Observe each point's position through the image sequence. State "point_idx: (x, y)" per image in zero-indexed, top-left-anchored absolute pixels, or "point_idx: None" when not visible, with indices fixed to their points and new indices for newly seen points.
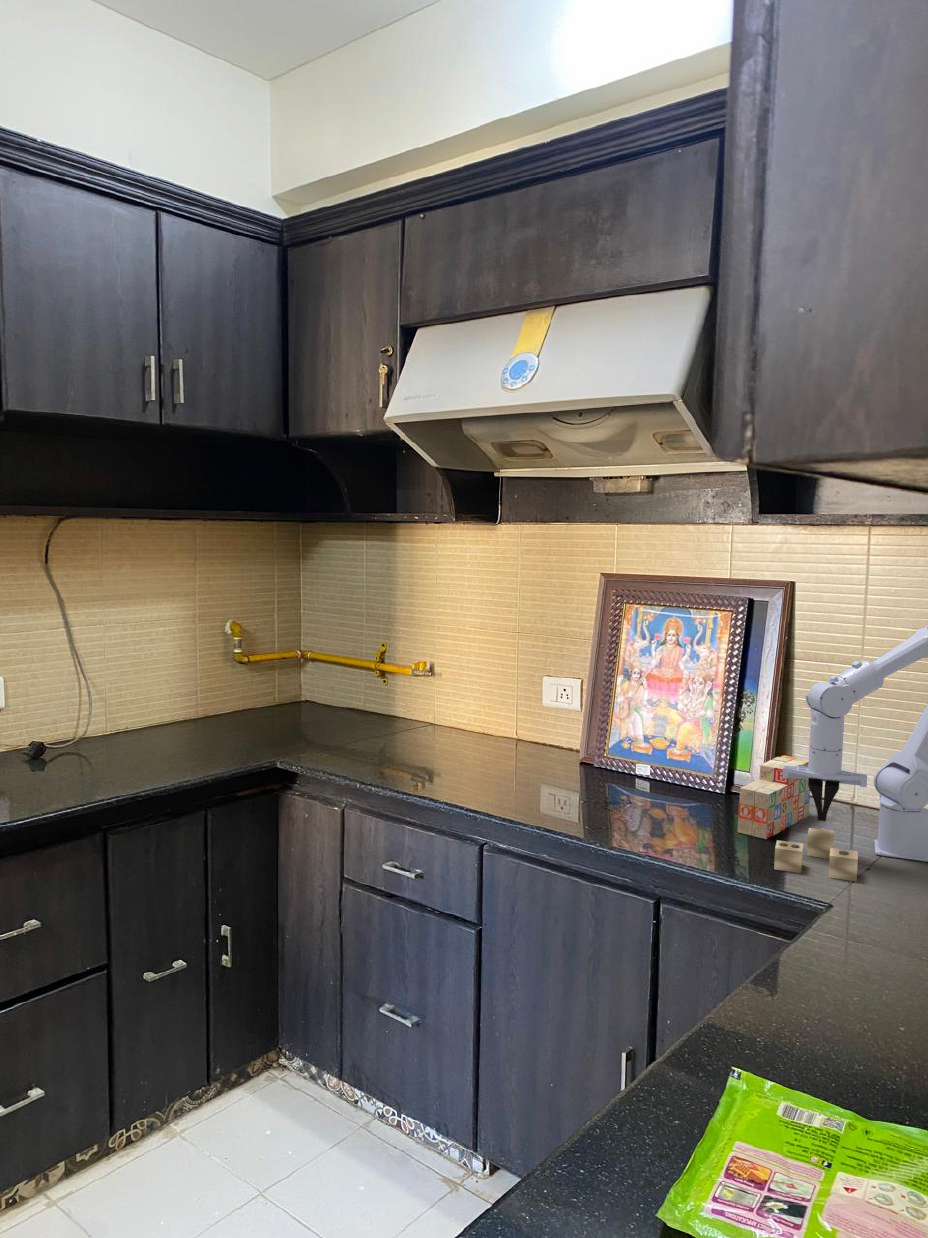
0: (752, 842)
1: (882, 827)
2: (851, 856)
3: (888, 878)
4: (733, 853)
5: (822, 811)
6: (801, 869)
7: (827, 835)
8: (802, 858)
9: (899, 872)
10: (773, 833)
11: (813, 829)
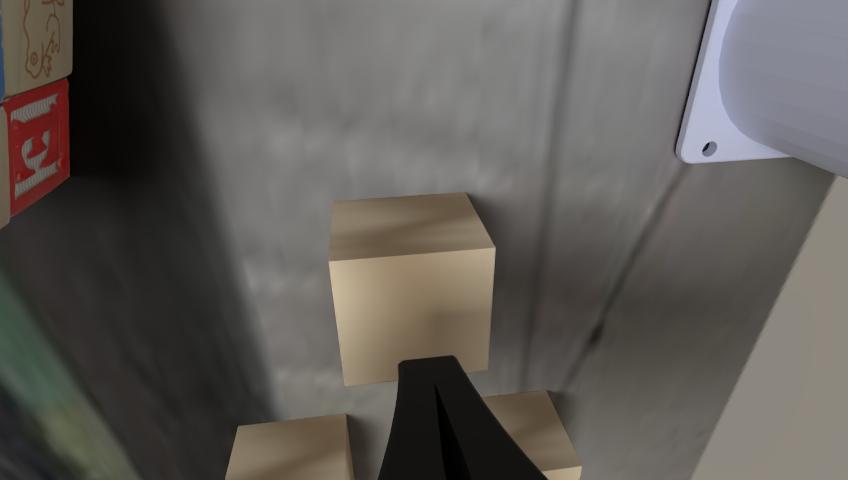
0: (26, 261)
1: (842, 146)
2: None
3: (649, 385)
4: (37, 436)
5: (438, 417)
6: (351, 459)
7: (453, 342)
8: (346, 448)
9: (710, 314)
10: (63, 74)
11: (363, 279)
